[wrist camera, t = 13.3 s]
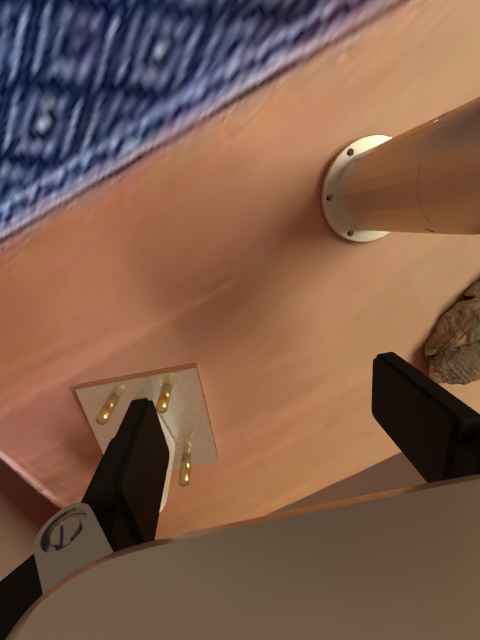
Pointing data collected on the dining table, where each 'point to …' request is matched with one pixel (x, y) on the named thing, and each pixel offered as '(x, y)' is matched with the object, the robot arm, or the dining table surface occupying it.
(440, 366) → the brown rock
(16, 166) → the dining table surface
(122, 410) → the chassis plate
